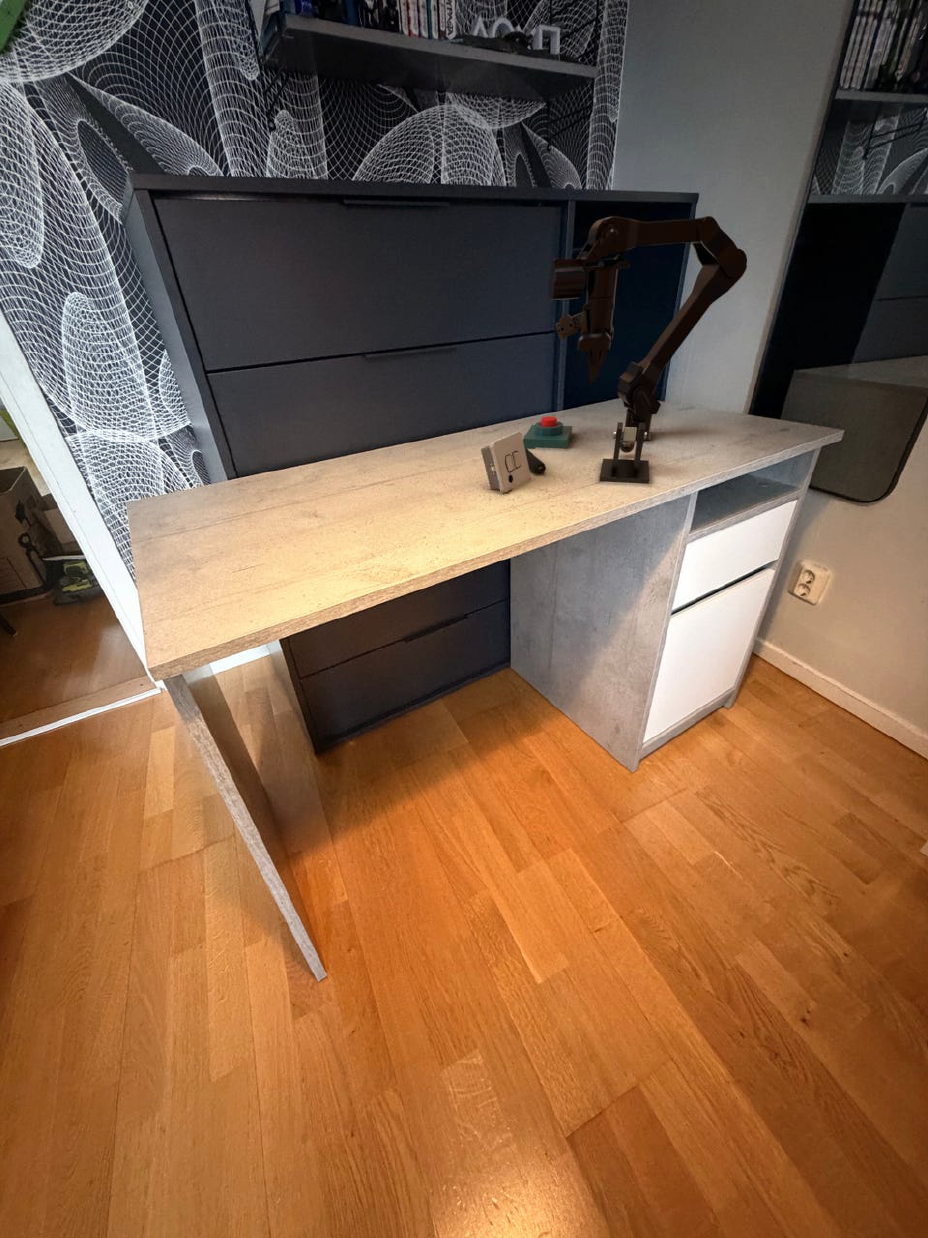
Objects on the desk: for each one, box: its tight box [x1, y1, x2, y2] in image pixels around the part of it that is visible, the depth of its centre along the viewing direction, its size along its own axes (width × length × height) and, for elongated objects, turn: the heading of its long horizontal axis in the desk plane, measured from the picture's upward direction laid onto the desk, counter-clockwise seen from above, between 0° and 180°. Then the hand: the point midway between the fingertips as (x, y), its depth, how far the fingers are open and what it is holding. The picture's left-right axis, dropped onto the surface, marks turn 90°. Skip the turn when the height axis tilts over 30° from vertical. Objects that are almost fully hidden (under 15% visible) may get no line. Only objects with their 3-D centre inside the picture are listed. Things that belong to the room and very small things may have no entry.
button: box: [540, 416, 558, 427], centre depth 114 cm, size 4×4×2 cm
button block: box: [522, 420, 573, 450], centre depth 116 cm, size 12×10×4 cm
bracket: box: [599, 421, 650, 485], centre depth 94 cm, size 11×9×9 cm
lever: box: [620, 426, 637, 454], centre depth 98 cm, size 14×3×3 cm, turn 164°
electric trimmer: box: [524, 447, 547, 473], centre depth 103 cm, size 4×16×3 cm, turn 16°
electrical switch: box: [480, 431, 531, 494], centre depth 94 cm, size 9×5×9 cm, turn 141°
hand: (592, 381), depth 108 cm, fingers closed
